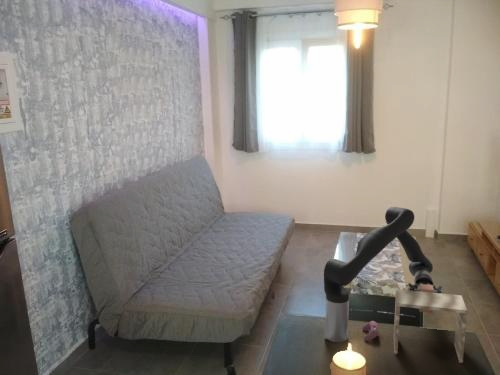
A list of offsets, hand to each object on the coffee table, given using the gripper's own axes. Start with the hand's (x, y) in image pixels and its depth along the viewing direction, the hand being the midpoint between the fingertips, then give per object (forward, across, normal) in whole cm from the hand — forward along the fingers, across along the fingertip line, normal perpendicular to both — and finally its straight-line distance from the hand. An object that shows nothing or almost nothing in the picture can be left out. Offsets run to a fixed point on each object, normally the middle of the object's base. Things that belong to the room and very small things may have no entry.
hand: (426, 297), depth 184 cm
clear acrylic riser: (+10, 0, +17) cm, 20 cm away
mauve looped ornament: (+5, -22, +18) cm, 28 cm away
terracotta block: (-3, 0, +6) cm, 7 cm away
